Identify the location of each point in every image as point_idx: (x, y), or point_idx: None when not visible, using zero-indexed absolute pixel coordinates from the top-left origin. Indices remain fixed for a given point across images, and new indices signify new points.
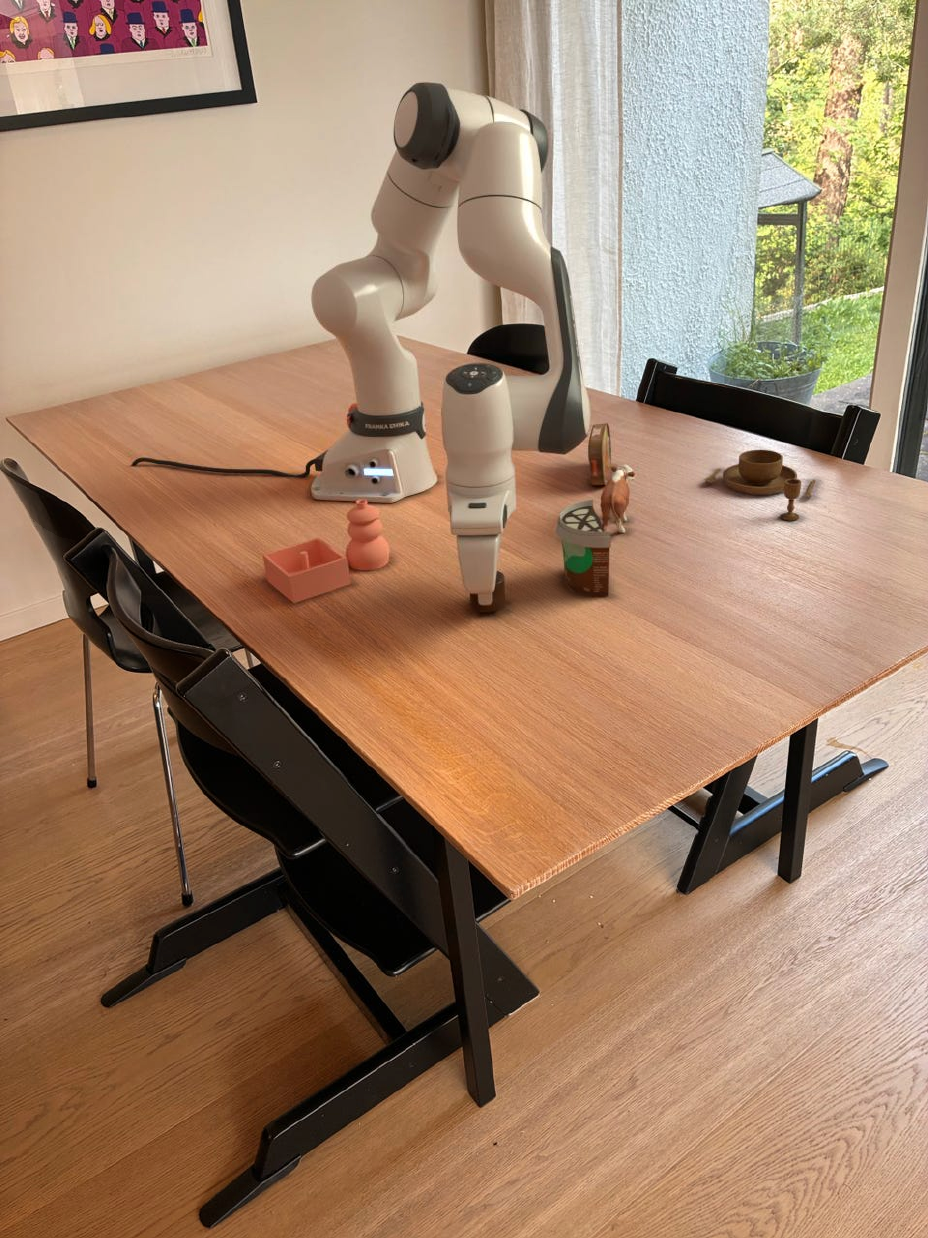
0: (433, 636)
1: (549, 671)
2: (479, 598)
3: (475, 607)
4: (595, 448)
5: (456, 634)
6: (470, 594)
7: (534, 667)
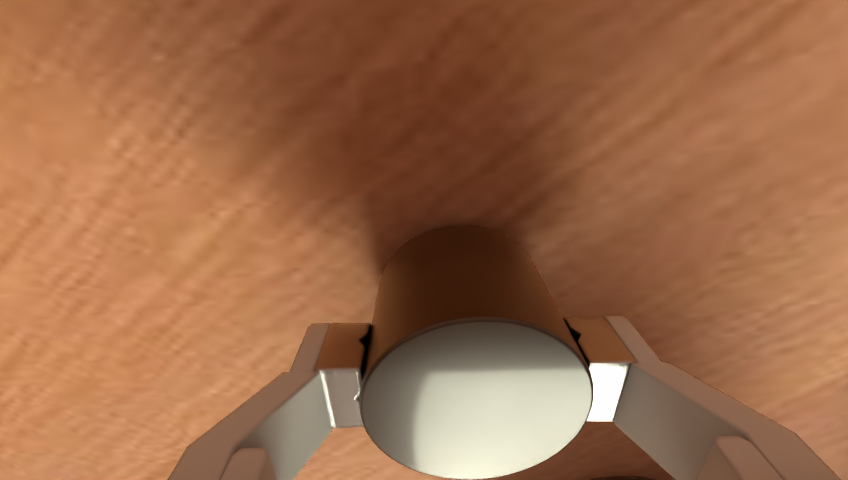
0: (148, 59)
1: (69, 465)
2: (303, 349)
3: (392, 261)
4: None
5: (203, 179)
6: (424, 269)
7: (72, 436)
